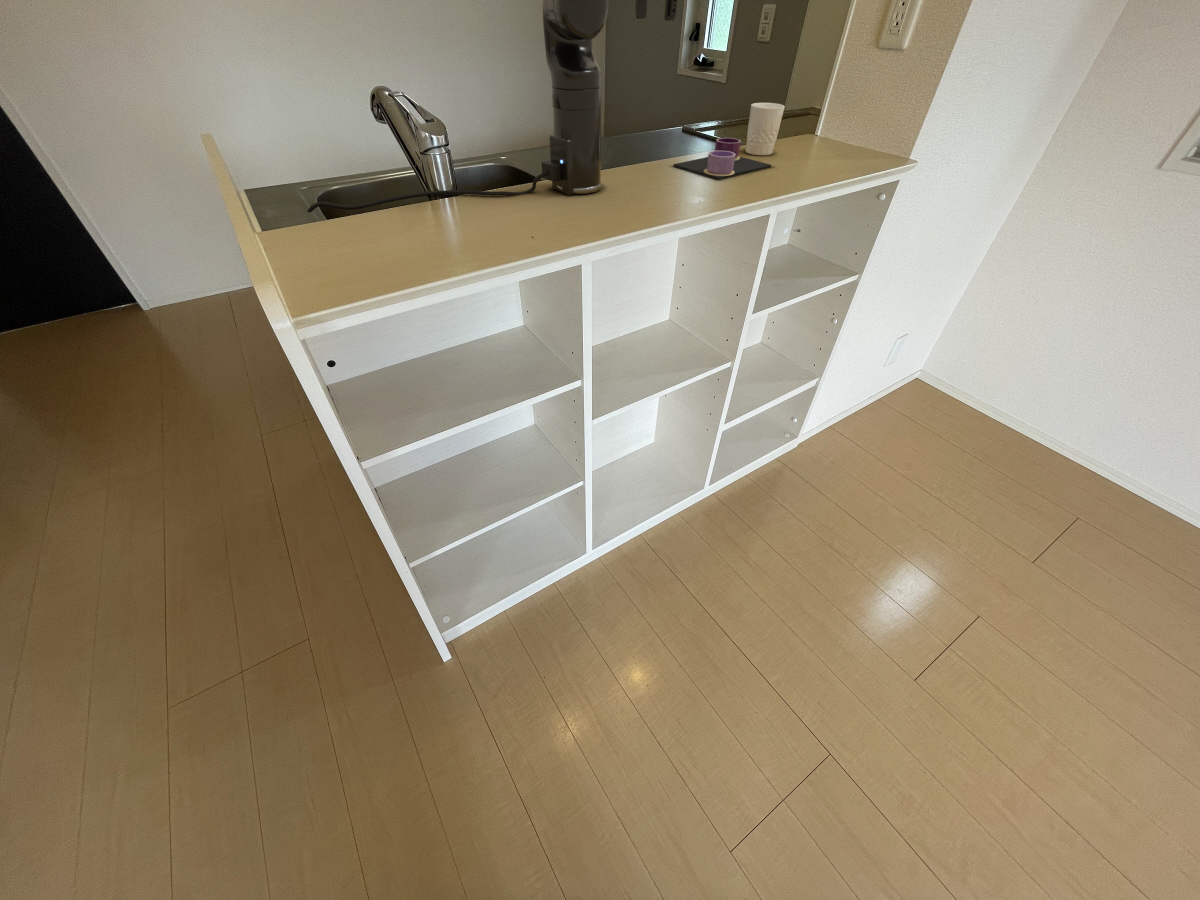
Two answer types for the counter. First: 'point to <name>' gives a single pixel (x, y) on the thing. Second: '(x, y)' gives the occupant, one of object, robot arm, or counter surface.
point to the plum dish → (728, 145)
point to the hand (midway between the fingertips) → (654, 19)
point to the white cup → (763, 127)
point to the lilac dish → (720, 162)
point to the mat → (739, 168)
